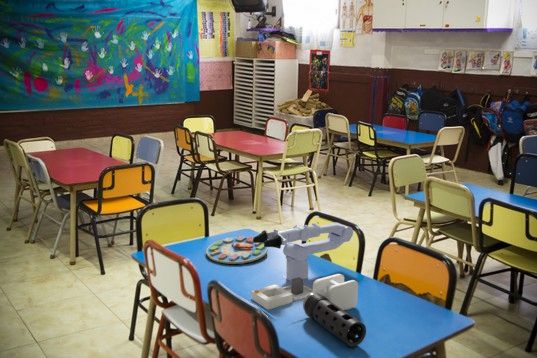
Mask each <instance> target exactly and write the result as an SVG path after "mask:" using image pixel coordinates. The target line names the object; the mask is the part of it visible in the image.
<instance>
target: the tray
mask: <svg viewBox="0 0 537 358" xmlns="http://www.w3.org/2000/svg"><path fill="white" fill-rule="evenodd" d="M282 288H283V289H284V290H286V291H288V292H289V293H291V285H287V286H284V287H282ZM311 293H313V288H310V287H309V286H306V285H305V284H303V293H301V294H298V295H294V294H293V293H291V294H292V301H294V302H296V301H299V300H303V299H305V298H306V297H307V296H308V295H309V294H311Z"/></svg>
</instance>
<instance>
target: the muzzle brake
mask: <svg viewBox="0 0 537 358" xmlns="http://www.w3.org/2000/svg"><path fill="white" fill-rule="evenodd" d="M303 299H304V300H303V302H302V308H303V310H304V313H305V315H306V317H308V318H310V319H311V320H313V321H315V322H317V323H318V324H319V325H321V326H322V327H323V328H324V329H326V331H327V330H328V331H329V332H330V333H331V334H333V335H334V336H335V337H336V338H338V339H339V340H341V341H342V342H343V343H345V344H346V345H347V346H349V347H351V348H352V349H354V348H356V347H357V346H359V345H360V344H361V343H363V342H364V339H366V338H365V337H366V335H367V327H366V325H365V324H364V323H363V322H362V321H360V320H358V319H357V317H354V316H353V315H351V314H350V313H348V312H347V311H346V310H342V309H341V308H339V307H338V306H336V305H335V304H333V303H332V302H330V301H329V300H328V299H327V298H326V297H324V296H323V295H321V294H316V293H311V294H309V295H308V296H307V297H306V298H303Z"/></svg>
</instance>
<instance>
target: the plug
mask: <svg viewBox="0 0 537 358" xmlns="http://www.w3.org/2000/svg"><path fill="white" fill-rule="evenodd" d="M290 282H291V293H293V294H294V295H298V294H301V293H303V285H304V279H302V278H300V277H298V278H295V279H291V281H290Z"/></svg>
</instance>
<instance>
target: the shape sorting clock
mask: <svg viewBox="0 0 537 358" xmlns="http://www.w3.org/2000/svg"><path fill="white" fill-rule="evenodd" d="M253 238H254V237H253V236H251V237H247V236H243V235H239V236H237V237H225V238H223V239H220V240H217V241H215V242H212V243H211V244H209V246H208V247H207V248H206V251H205V253H206V256H207V257H208V258H209V259H210V260H212V261H214V262H217V263H221V264H222V263H223V264H228V265H229V264H231V265H233V264H239V265H244V264H247V263H250V262H255V261H257V260H259V259H261V258H262V257H264V256H265V255H267V253H268V251H269V247H264V243H254V242H253Z"/></svg>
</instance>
